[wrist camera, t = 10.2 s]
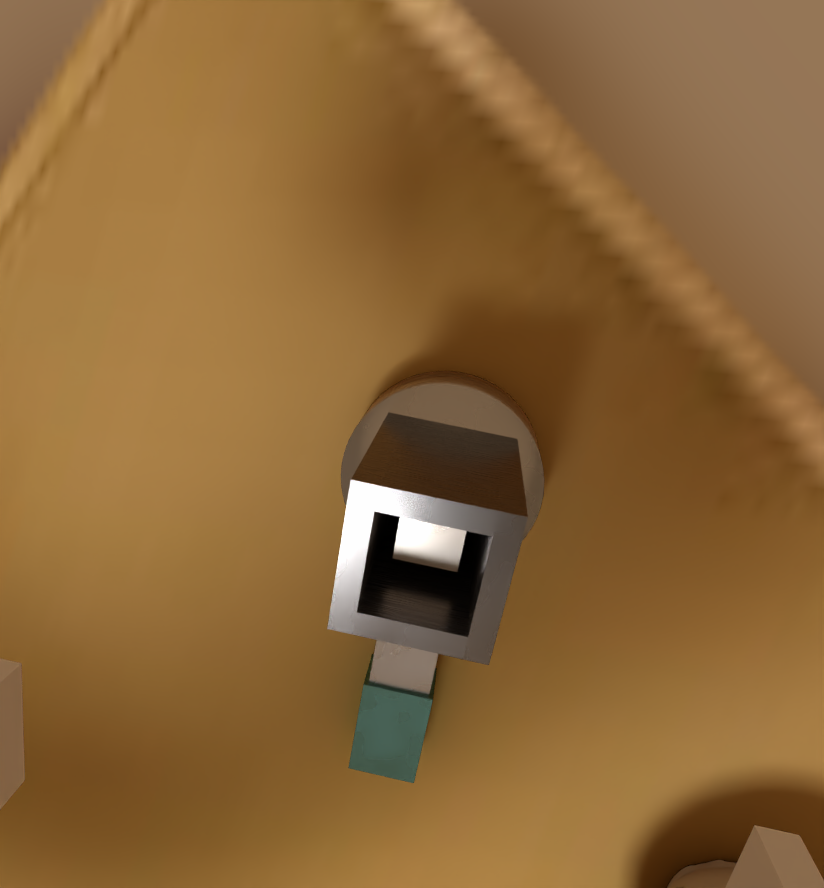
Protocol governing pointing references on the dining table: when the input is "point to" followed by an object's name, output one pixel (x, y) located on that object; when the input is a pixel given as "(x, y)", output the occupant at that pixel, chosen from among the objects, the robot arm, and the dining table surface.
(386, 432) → the square hollow tube
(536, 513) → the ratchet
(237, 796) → the dining table surface
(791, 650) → the dining table surface
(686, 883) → the teacup
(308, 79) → the dining table surface
